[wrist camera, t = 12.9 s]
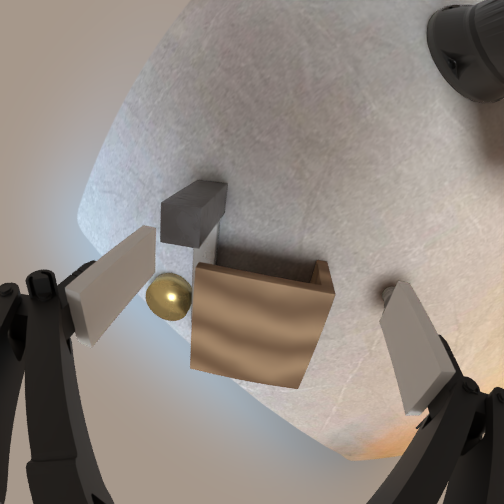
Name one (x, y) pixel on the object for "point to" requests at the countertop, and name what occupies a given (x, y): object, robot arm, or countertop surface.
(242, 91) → the countertop surface
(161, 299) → the ball
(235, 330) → the shelf
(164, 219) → the l-shaped hook tool
